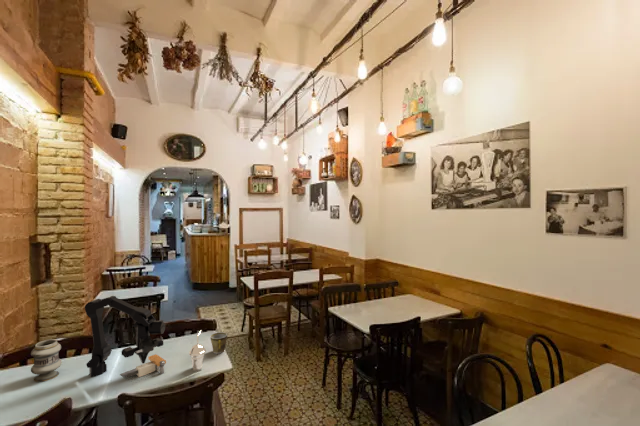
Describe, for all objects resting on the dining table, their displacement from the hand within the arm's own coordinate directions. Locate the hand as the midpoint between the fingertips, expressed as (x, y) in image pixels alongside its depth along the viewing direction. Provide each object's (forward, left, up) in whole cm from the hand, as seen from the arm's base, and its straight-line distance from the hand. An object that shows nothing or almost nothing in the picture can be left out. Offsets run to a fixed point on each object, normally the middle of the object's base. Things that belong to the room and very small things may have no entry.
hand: (143, 363), depth 162 cm
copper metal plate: (+6, -4, 0) cm, 7 cm away
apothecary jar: (-33, +36, -6) cm, 49 cm away
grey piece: (-1, -2, -6) cm, 6 cm away
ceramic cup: (+39, -10, -6) cm, 41 cm away
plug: (-2, -2, -4) cm, 5 cm away
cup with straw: (+20, -19, -6) cm, 28 cm away
